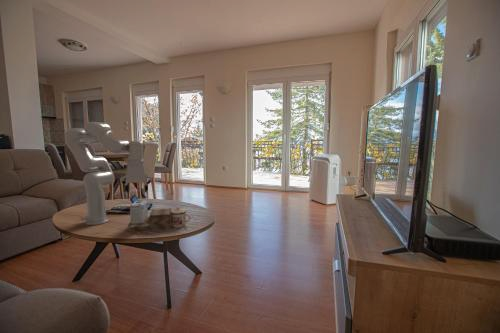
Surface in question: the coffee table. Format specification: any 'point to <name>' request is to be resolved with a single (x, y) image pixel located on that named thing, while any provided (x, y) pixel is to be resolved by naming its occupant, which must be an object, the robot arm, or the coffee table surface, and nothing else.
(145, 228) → the step stand
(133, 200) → the handheld game console
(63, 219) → the coffee table surface
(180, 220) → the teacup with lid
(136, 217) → the light bulb box
